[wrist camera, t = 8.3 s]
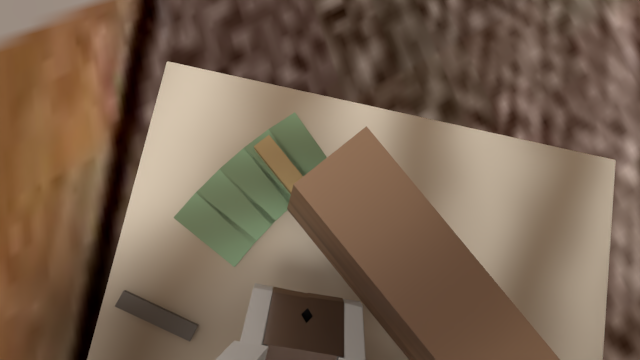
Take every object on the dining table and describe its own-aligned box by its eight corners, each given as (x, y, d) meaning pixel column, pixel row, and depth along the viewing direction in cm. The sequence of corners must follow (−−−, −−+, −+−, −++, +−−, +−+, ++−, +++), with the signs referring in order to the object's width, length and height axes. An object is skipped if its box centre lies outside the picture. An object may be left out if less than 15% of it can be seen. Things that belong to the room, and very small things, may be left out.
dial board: (592, 164, 17) (619, 159, 16) (557, 646, 14) (586, 691, 13) (175, 73, 16) (165, 59, 14) (39, 591, 13) (10, 635, 11)
